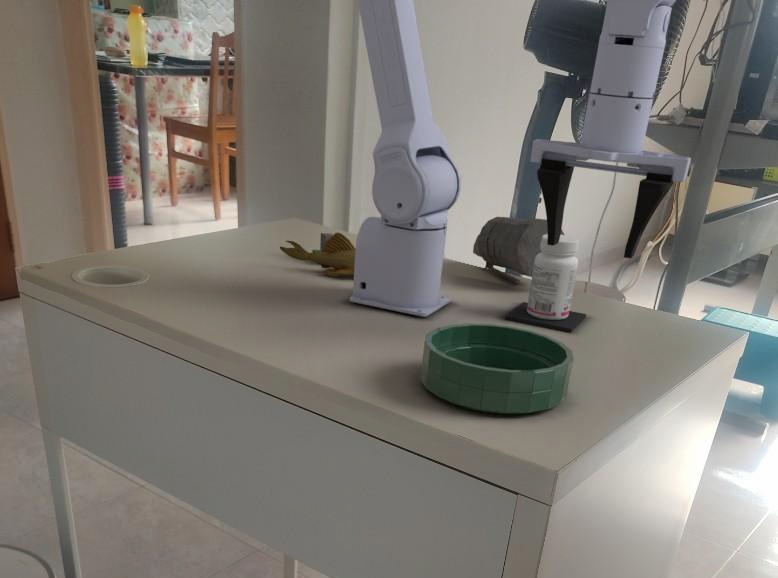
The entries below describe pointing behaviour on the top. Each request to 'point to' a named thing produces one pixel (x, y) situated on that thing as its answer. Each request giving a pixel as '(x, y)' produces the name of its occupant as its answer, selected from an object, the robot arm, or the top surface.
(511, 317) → the mat
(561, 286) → the pill bottle
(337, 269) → the fish
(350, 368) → the top surface
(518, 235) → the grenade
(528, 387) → the bowl
